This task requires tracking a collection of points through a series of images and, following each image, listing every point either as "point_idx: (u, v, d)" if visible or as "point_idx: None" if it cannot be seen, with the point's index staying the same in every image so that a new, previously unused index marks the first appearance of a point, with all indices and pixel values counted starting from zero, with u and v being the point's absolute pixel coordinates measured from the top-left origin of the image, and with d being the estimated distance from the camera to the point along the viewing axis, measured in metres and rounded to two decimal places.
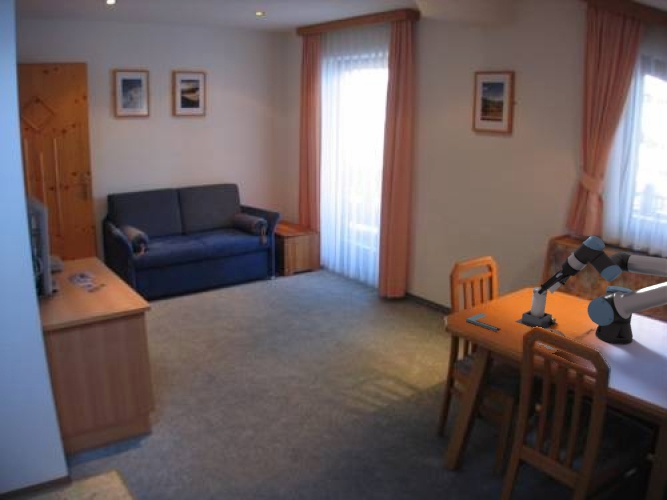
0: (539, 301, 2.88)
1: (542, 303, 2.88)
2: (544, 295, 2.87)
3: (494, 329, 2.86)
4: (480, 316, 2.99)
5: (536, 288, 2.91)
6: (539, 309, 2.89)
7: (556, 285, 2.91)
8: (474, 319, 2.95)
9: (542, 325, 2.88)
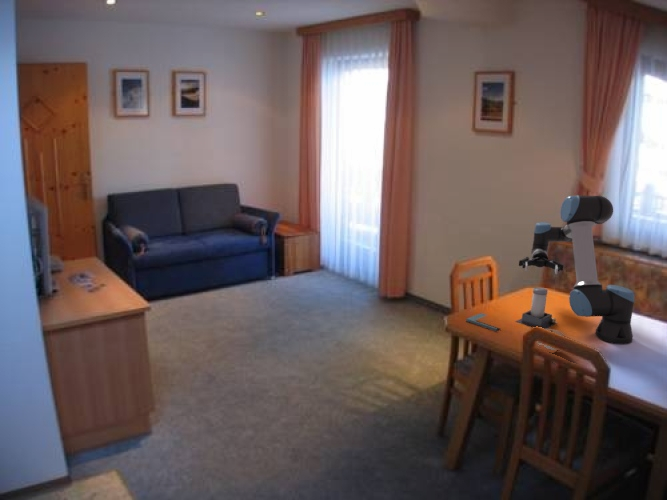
0: (539, 301, 2.88)
1: (542, 303, 2.88)
2: (544, 295, 2.87)
3: (494, 329, 2.86)
4: (480, 316, 2.99)
5: (536, 288, 2.91)
6: (539, 309, 2.89)
7: (555, 268, 2.99)
8: (474, 319, 2.95)
9: (542, 325, 2.88)
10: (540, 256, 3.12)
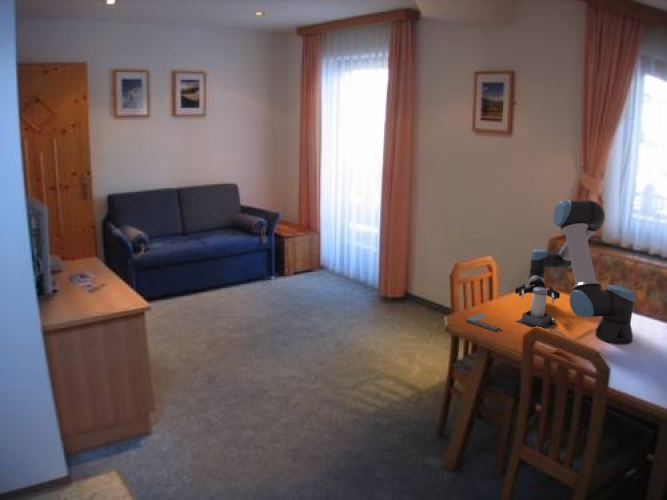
0: (539, 301, 2.88)
1: (542, 303, 2.88)
2: (544, 295, 2.87)
3: (494, 329, 2.86)
4: (480, 316, 2.99)
5: (536, 288, 2.91)
6: (539, 309, 2.89)
7: (551, 296, 2.99)
8: (474, 319, 2.95)
9: (542, 325, 2.88)
10: (537, 283, 3.12)
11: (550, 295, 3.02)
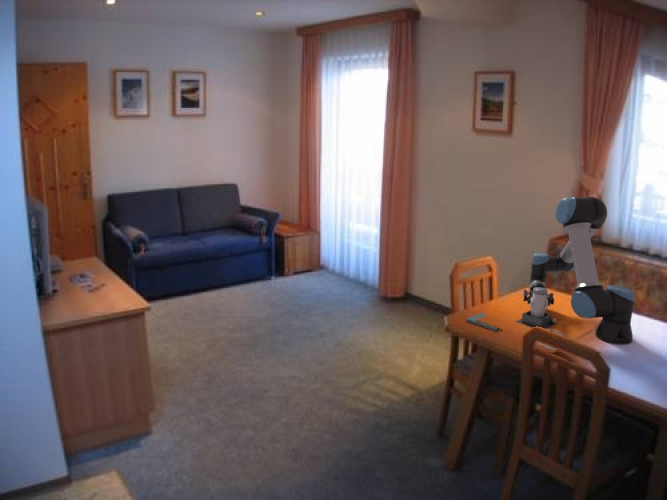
0: (539, 301, 2.88)
1: (542, 303, 2.88)
2: (544, 295, 2.87)
3: (494, 329, 2.86)
4: (480, 316, 2.99)
5: (536, 288, 2.91)
6: (539, 309, 2.89)
7: None
8: (474, 319, 2.95)
9: (542, 325, 2.88)
10: None
11: None
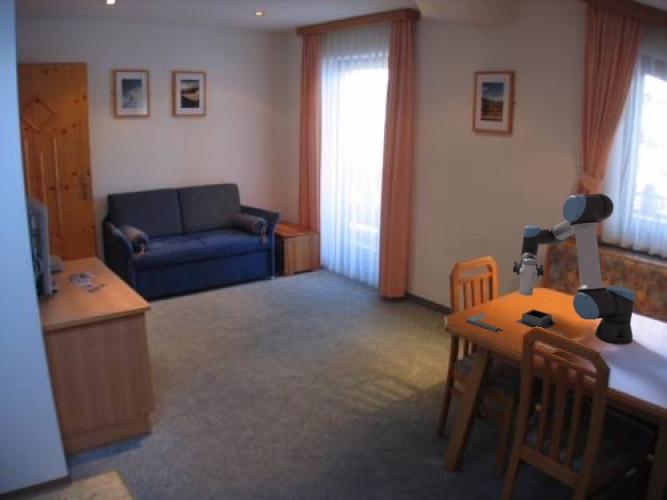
0: (529, 272, 2.86)
1: (531, 274, 2.87)
2: (533, 265, 2.86)
3: (494, 329, 2.86)
4: (480, 316, 2.99)
5: (526, 258, 2.89)
6: (528, 280, 2.87)
7: None
8: (474, 319, 2.95)
9: (542, 325, 2.88)
10: None
11: None
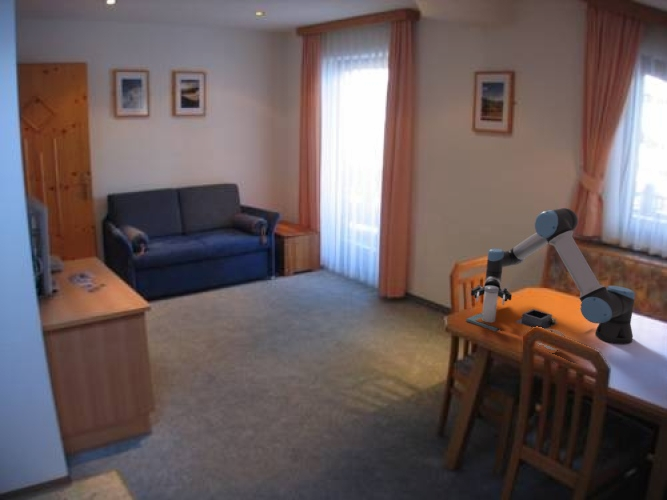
0: (491, 300, 2.89)
1: (493, 301, 2.89)
2: (495, 293, 2.88)
3: (494, 329, 2.86)
4: (480, 316, 2.99)
5: (488, 286, 2.92)
6: (490, 307, 2.90)
7: None
8: (474, 319, 2.95)
9: (542, 325, 2.88)
10: (492, 284, 3.04)
11: (502, 297, 2.94)
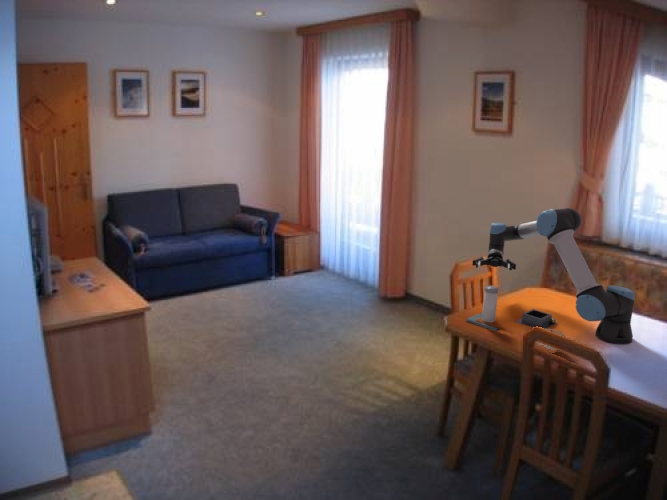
0: (490, 300, 2.89)
1: (493, 301, 2.89)
2: (495, 293, 2.88)
3: (494, 329, 2.86)
4: (480, 316, 2.99)
5: (488, 286, 2.92)
6: (490, 307, 2.90)
7: None
8: (474, 319, 2.95)
9: (542, 325, 2.88)
10: (494, 256, 3.14)
11: (506, 266, 3.04)
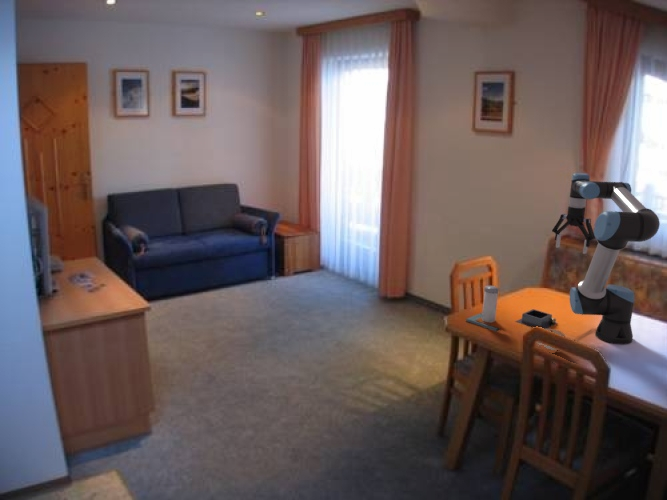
0: (490, 300, 2.89)
1: (493, 301, 2.89)
2: (495, 293, 2.88)
3: (494, 329, 2.86)
4: (480, 316, 2.99)
5: (488, 286, 2.92)
6: (490, 307, 2.90)
7: None
8: (474, 319, 2.95)
9: (542, 325, 2.88)
10: None
11: None
